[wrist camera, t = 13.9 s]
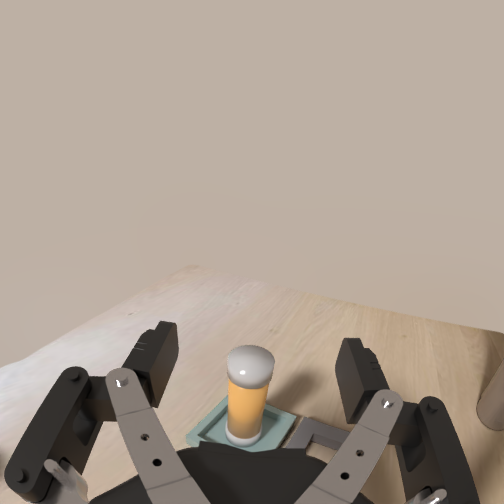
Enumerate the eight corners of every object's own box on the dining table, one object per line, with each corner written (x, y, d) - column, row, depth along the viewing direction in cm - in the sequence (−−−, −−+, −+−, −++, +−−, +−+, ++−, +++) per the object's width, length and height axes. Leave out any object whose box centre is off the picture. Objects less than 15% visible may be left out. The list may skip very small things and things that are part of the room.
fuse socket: (301, 424, 34) (304, 416, 33) (365, 445, 29) (371, 438, 29) (268, 476, 25) (270, 469, 25) (343, 503, 21) (349, 497, 20)
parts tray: (233, 397, 38) (233, 388, 38) (293, 424, 34) (296, 416, 33) (186, 443, 29) (185, 435, 28) (254, 481, 25) (256, 475, 24)
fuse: (237, 416, 34) (243, 339, 29) (266, 430, 32) (282, 355, 27) (218, 437, 30) (218, 362, 26) (249, 453, 28) (260, 381, 24)
